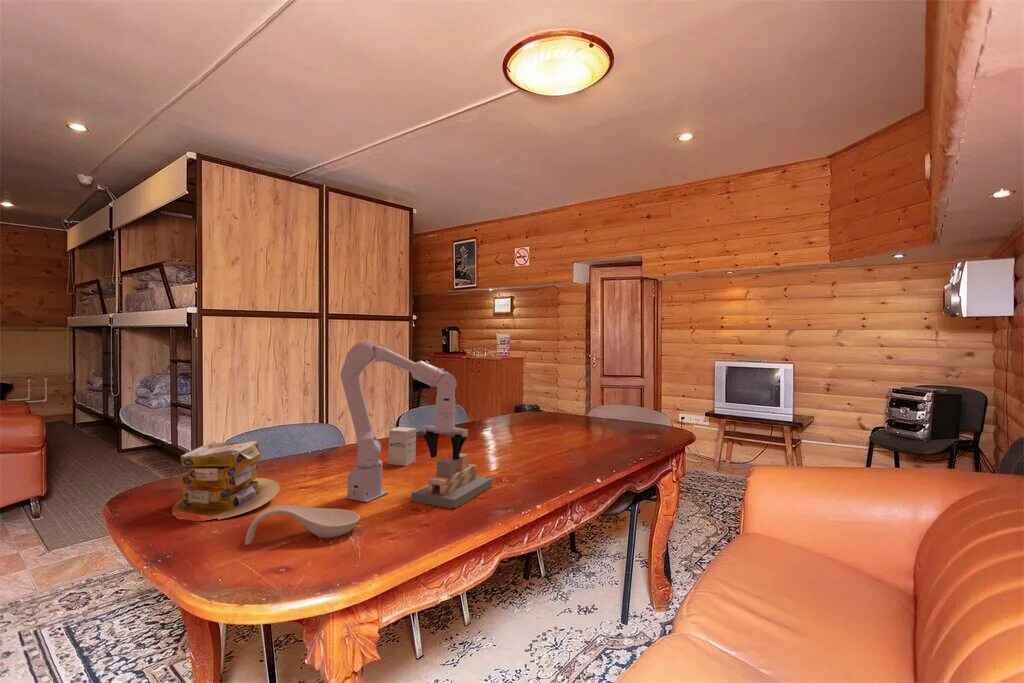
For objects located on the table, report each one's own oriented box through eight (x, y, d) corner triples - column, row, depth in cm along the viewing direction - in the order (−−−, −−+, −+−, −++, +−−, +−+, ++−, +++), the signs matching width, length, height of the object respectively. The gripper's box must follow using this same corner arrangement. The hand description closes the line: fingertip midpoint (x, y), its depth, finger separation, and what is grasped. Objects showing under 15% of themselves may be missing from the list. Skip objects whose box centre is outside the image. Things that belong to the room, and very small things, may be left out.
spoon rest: (358, 521, 118) (358, 492, 118) (361, 540, 107) (361, 508, 107) (250, 533, 110) (251, 502, 110) (241, 555, 98) (241, 520, 98)
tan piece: (443, 495, 130) (443, 480, 130) (428, 493, 132) (428, 478, 132) (476, 477, 147) (476, 465, 147) (462, 475, 149) (462, 463, 149)
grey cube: (448, 477, 133) (449, 463, 133) (436, 475, 135) (436, 461, 135) (456, 473, 137) (456, 459, 137) (444, 472, 139) (444, 458, 139)
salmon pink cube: (462, 470, 141) (462, 456, 141) (450, 468, 142) (450, 455, 142) (468, 467, 144) (468, 454, 144) (457, 465, 146) (457, 452, 146)
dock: (454, 509, 127) (454, 499, 127) (411, 501, 132) (411, 491, 132) (491, 486, 147) (491, 478, 147) (452, 480, 152) (452, 472, 152)
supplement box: (387, 464, 171) (388, 429, 171) (398, 460, 178) (398, 426, 178) (406, 466, 169) (406, 431, 169) (416, 461, 176) (416, 427, 176)
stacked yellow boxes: (217, 528, 112) (219, 457, 112) (148, 513, 121) (149, 447, 121) (299, 497, 135) (300, 438, 135) (235, 486, 144) (236, 431, 144)
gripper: (473, 412, 142) (472, 458, 142) (432, 409, 148) (431, 453, 148) (461, 416, 136) (460, 463, 136) (419, 412, 142) (418, 457, 142)
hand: (444, 458), depth 142 cm, fingers open, 7 cm apart
